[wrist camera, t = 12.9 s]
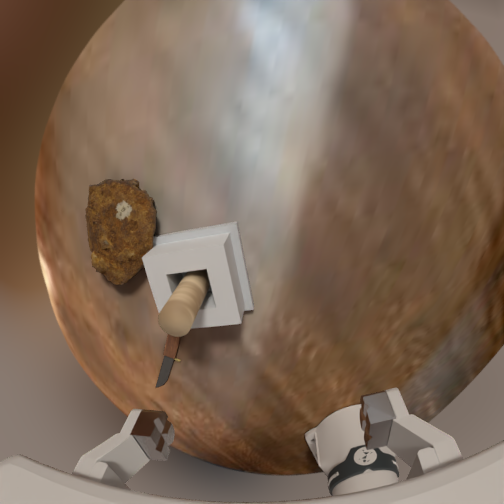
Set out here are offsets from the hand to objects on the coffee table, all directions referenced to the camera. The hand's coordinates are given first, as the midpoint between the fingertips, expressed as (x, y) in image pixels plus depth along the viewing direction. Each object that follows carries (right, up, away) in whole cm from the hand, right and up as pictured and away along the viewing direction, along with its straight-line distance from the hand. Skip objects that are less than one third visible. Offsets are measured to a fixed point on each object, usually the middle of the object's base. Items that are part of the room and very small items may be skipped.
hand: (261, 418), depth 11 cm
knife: (-13, -10, +36) cm, 39 cm away
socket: (-7, +4, +30) cm, 31 cm away
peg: (-7, +4, +29) cm, 30 cm away
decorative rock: (-18, +10, +29) cm, 36 cm away
